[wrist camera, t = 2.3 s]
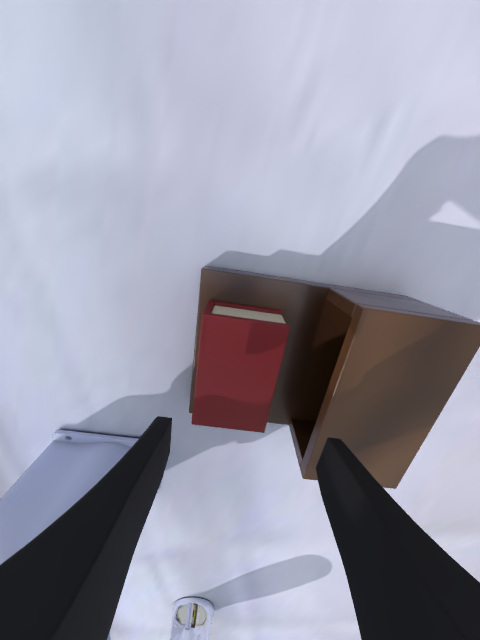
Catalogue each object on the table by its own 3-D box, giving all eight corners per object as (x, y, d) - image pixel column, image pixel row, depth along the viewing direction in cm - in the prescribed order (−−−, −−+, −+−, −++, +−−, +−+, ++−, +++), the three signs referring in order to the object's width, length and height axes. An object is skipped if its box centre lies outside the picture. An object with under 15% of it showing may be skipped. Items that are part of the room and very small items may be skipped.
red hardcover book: (199, 394, 18) (191, 424, 15) (209, 299, 15) (201, 313, 12) (260, 402, 18) (264, 432, 15) (281, 309, 15) (290, 326, 13)
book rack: (192, 400, 20) (173, 465, 14) (204, 265, 16) (185, 281, 10) (354, 420, 21) (396, 489, 15) (406, 296, 17) (492, 326, 11)
